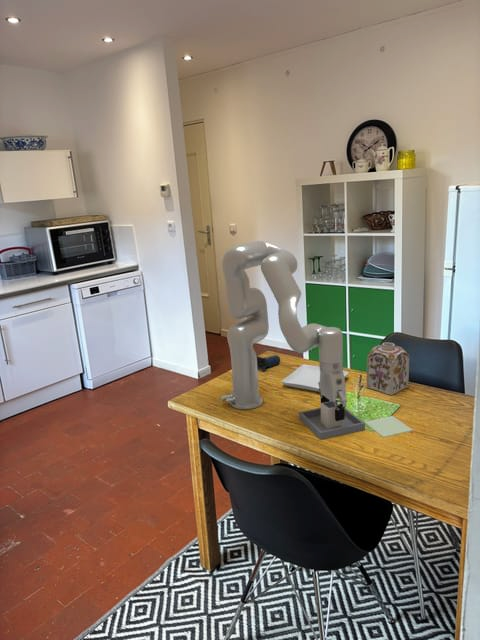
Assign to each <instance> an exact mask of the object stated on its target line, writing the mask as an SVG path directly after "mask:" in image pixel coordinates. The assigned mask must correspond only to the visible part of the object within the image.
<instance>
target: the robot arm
mask: <svg viewBox="0 0 480 640" xmlns="http://www.w3.org/2000/svg"><path fill="white" fill-rule="evenodd" d="M221 265H222V273H223V277H224V282H225V293H226V303H227V309H228V313H229V315H230V316H231V317H232V318H233V319H236V320H237V319H238V320H239V319H240V321H238V322H235V323H233V324H232V325H231V326H230V327H229V328H228V329H227V332H226V338H227V339H226V340H227V343H228V347H229V353H230V360H231V361H230V363H231V364H230V365H231V375H232V376H231V377H232V390H231V391H230V393H228V394H226V395H221V396H220V399H221V402H224V401H225V402H226V403H229V405H230V406H231V407H233V408H235V409H237V410H252V409H256V408H258V407H261V406H262V405H263V403H264V398H263V396H261V395H260V394H259V392H260V391H259V375H258V374H259V373H258V371H259V370H258V369H257V356H258V355H257V353H256V351H255V349H254V347H253V345H255V344H257V343H259V342H260V341H262V340H264V339H265V338H266V337H267V336H268V334H269V330H270V329H269V328H270V327H269V326H270V325H269V315H268V304H267V299H266V295H265V294H264V292H263V291H262V290H260V289H259V288H256V287H250V286H251V285H250V278H249V276H248V274H247V272H246V271H245V270H246V269H250V268H255V267H258V266H260V269H261V270H260V271H261V274H263V277H264V280H265V281H266V283H267V285H268V287H269V289H270V291H271V293H272V294H273V297H274V298H275V300H276V302H277V305H278V307H277V308H278V311H277V313H278V314H277V315H278V325H279V328H280V331H281V333H282V335H283V337H284V338H285V341H286V342H287V344H288V346H289V347H290V349H292V350H293V351H294V352H296V353H298V354H304V353H307V352H309V351H311V350H312V349H313V348H316V347H318V355H319V356H318V361H319V362H318V363H319V364H318V365H319V367H320V382H318V385H319V391H320V392H319V397H320V404H321V403H324V402H329V401H332V402H334V404H335V407H336V409H335V420H336V421H340V420H344V419H345V410H344V409H345V408H347V403H348V399H347V388H346V387H347V386H346V379H345V378H346V377H345V378H344V373H343V371H344V350H343V349H344V348H343V347H344V345H343V343H344V342H343V336H344V335H343V331H342V330H341V328H339V327H335V326H325V325H322V324H320V323H319V324H318V323H314V322H313V323H308V324H306V325H305V326H301V323H300V321H299V319H298V313H297V307H298V304H299V301H300V299H301V296H302V291H301V289H300V287H299V285H298V283H297V282H296V280H295V277H294V276H293V274H294V273H295V272H296V271H297V269H298V260H297V258H296V257H295V255H294V254H293V253H291V252H290V251H288V250H287V249H285V248H281V247H279V246H276V245H274V244H272V243H269V242H267V241H263V240H259V241H258V240H257V241H252V242H246V243H241V244H238V245H235V246H233V247H230V248H229V249H228V250H227V251H226V252H225V253H224V254H223V258H222V262H221ZM241 319H243V320H241ZM337 403H338V404H339V406H338V404H337Z"/></svg>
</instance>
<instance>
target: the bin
mask: <svg viewBox="0 0 480 640" xmlns="http://www.w3.org/2000/svg"><path fill="white" fill-rule="evenodd" d="M344 410H345V419H344V420H341V426H338V427H334V428H329V429H328V428H327V427H325V426H324V425H323V424H322V423H321V407H317V408H314V409H313V408H312V409H307V410H301V411H299V412H298V419H299V420H300V421H301V422H302V423H303V424H304V426H306V427H307V428H308V429H309V431H311V432H312V433H313V434H314V435H315V436H316V437H317V438H318V439H319V440H320V441H323V440H327V439H331V438H335V437H341V436H344V435H349V434H354V433H359V432H362V431H365V430H366V424H365V423H364V422H365V421H363V420H362V419H360V417H358V416H357V415H355V414H354V413H353V412H351V411H350V410H349V409H348V408H347V407H345V409H344Z"/></svg>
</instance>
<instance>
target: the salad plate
mask: <svg viewBox="0 0 480 640" xmlns="http://www.w3.org/2000/svg"><path fill="white" fill-rule="evenodd" d="M343 373H344V378H346V377H347V376H348V375H349V373H350V372H349V371H347V370H343ZM318 382H320V366H318V365H314V364H313V365H311V364H305V363H303V364H301V365H300V366H299V367H298V368H296V369H295V370H294V371H292V373H290V374H288V375H287V376H286V377H285V378H284V379H282V380H281V383H282V384H283V385H285V386H287V387H291V388H296V389H302V390H306V391H311V392H312V391H313V392H317V393H320V391H319V385H318Z"/></svg>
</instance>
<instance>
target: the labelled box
mask: <svg viewBox="0 0 480 640" xmlns="http://www.w3.org/2000/svg"><path fill="white" fill-rule="evenodd" d="M337 404H338V406H339V404H340V403H339V402H337ZM320 408H321V423H322V424H323V425H324V426H325V427H327V428H328V429H329V428H334V427H338V426H341V420H340V421H336V420H335V409H336V407H335V404H334V402H332V401H329V402H324V403H321V402H320Z"/></svg>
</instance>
